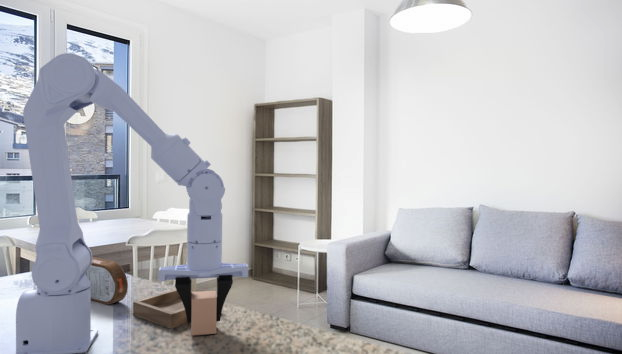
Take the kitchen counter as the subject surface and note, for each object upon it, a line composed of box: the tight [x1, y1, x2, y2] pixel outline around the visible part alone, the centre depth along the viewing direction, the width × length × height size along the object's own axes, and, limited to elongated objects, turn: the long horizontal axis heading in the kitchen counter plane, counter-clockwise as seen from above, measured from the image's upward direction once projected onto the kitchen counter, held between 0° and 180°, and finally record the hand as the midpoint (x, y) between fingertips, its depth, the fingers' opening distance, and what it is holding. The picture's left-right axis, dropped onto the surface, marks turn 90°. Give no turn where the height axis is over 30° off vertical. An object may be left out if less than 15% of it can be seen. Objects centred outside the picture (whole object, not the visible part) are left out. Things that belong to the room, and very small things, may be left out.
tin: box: [85, 256, 129, 305], centre depth 87 cm, size 15×3×8 cm, turn 61°
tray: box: [132, 288, 196, 330], centre depth 80 cm, size 11×11×2 cm
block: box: [190, 290, 217, 336], centre depth 72 cm, size 4×4×6 cm
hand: (203, 320), depth 72 cm, fingers closed on block, 4 cm apart
